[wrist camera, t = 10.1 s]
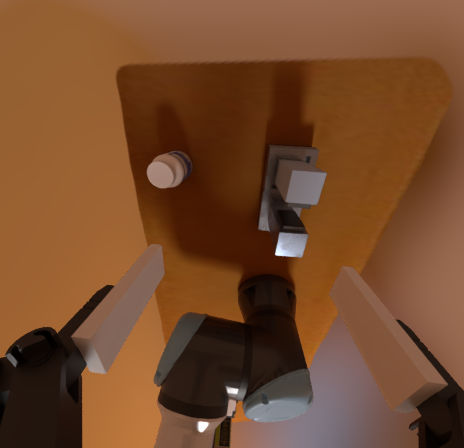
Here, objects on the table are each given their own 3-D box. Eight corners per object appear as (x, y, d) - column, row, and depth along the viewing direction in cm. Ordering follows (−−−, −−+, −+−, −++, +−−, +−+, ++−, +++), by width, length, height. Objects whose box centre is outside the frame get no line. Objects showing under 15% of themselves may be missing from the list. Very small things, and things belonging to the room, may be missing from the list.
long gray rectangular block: (295, 188, 32) (315, 210, 23) (273, 186, 32) (284, 207, 23) (302, 160, 30) (326, 173, 21) (278, 158, 30) (292, 170, 21)
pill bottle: (171, 181, 35) (150, 195, 28) (161, 153, 33) (135, 160, 25) (196, 176, 35) (182, 189, 27) (188, 147, 32) (169, 153, 24)
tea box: (202, 410, 91) (195, 457, 78) (201, 402, 86) (193, 451, 73) (232, 413, 90) (229, 461, 77) (231, 405, 85) (229, 455, 72)
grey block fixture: (292, 227, 38) (311, 266, 27) (257, 224, 38) (261, 261, 27) (311, 146, 31) (348, 155, 20) (267, 144, 31) (279, 151, 20)
